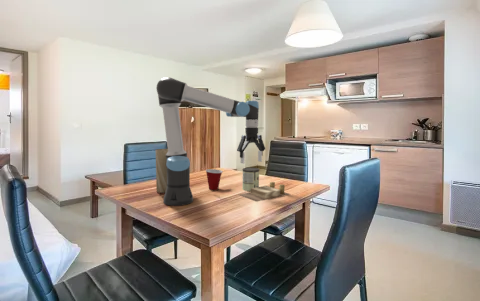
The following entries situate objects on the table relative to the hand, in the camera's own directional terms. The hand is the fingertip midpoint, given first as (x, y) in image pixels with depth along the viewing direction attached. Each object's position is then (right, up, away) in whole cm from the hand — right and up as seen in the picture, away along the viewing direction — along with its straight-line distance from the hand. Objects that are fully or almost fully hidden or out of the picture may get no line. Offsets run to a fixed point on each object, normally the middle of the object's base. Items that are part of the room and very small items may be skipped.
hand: (251, 162), depth 164 cm
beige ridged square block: (+8, -18, -9) cm, 22 cm away
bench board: (+7, -19, -10) cm, 23 cm away
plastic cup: (-23, -17, +7) cm, 30 cm away
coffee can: (0, -18, +2) cm, 18 cm away
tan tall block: (-53, -17, +1) cm, 55 cm away
